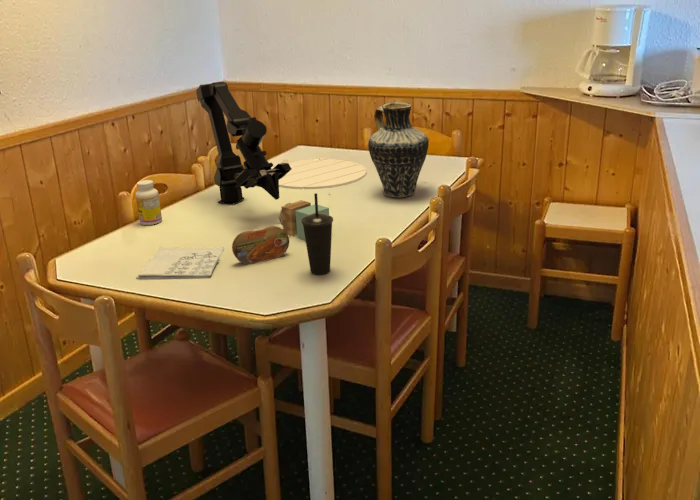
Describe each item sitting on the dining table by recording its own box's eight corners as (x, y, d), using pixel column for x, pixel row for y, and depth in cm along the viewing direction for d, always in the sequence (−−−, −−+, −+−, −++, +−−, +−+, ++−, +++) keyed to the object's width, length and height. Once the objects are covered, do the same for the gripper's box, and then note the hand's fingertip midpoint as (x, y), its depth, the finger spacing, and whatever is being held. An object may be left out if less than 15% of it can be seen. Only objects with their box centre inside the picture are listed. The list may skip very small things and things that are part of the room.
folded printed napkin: (135, 281, 163) (133, 273, 162) (161, 250, 181) (159, 243, 180) (211, 280, 161) (210, 272, 161) (229, 249, 180) (228, 242, 179)
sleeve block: (283, 233, 189) (281, 206, 186) (303, 226, 194) (301, 200, 191) (292, 236, 187) (290, 209, 184) (312, 228, 192) (310, 202, 189)
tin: (236, 267, 167) (232, 236, 164) (232, 263, 170) (229, 232, 167) (290, 255, 174) (288, 225, 170) (286, 251, 176) (284, 221, 173)
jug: (440, 193, 219) (441, 102, 208) (401, 207, 207) (400, 111, 196) (393, 182, 233) (393, 96, 222) (355, 195, 221) (352, 105, 210)
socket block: (297, 237, 185) (295, 210, 182) (316, 230, 190) (315, 204, 187) (310, 242, 182) (308, 214, 179) (330, 234, 187) (328, 207, 184)
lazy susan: (240, 176, 250) (239, 167, 249) (319, 156, 274) (319, 148, 273) (306, 197, 222) (306, 187, 221) (388, 173, 246) (388, 164, 245)
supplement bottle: (139, 220, 204) (132, 180, 199) (161, 217, 206) (155, 177, 201) (140, 227, 198) (134, 186, 193) (163, 224, 200) (157, 183, 195)
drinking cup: (304, 266, 166) (299, 190, 159) (334, 264, 167) (331, 188, 159) (305, 278, 159) (299, 199, 152) (336, 276, 160) (332, 197, 152)
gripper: (259, 165, 207) (282, 207, 205) (215, 172, 192) (239, 217, 190) (279, 145, 200) (304, 189, 198) (235, 151, 186) (261, 198, 184)
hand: (277, 198), depth 193 cm, fingers closed
